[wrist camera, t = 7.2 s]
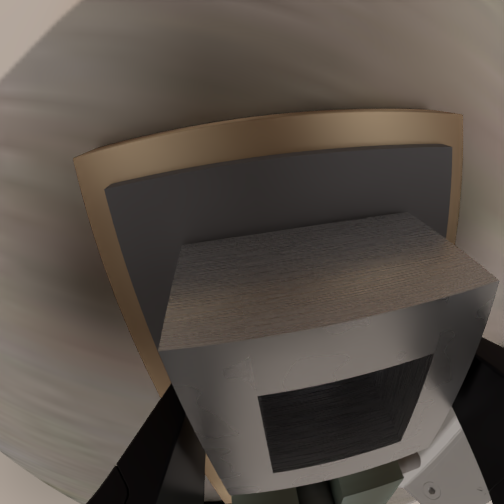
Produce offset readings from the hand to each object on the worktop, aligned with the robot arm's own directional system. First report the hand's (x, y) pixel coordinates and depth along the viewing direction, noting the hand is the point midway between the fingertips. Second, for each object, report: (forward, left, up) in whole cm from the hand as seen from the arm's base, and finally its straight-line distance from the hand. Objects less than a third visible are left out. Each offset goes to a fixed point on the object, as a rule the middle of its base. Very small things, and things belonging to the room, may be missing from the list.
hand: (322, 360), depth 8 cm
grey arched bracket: (+14, -17, -5) cm, 22 cm away
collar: (0, 0, -2) cm, 2 cm away
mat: (0, 0, -3) cm, 3 cm away
